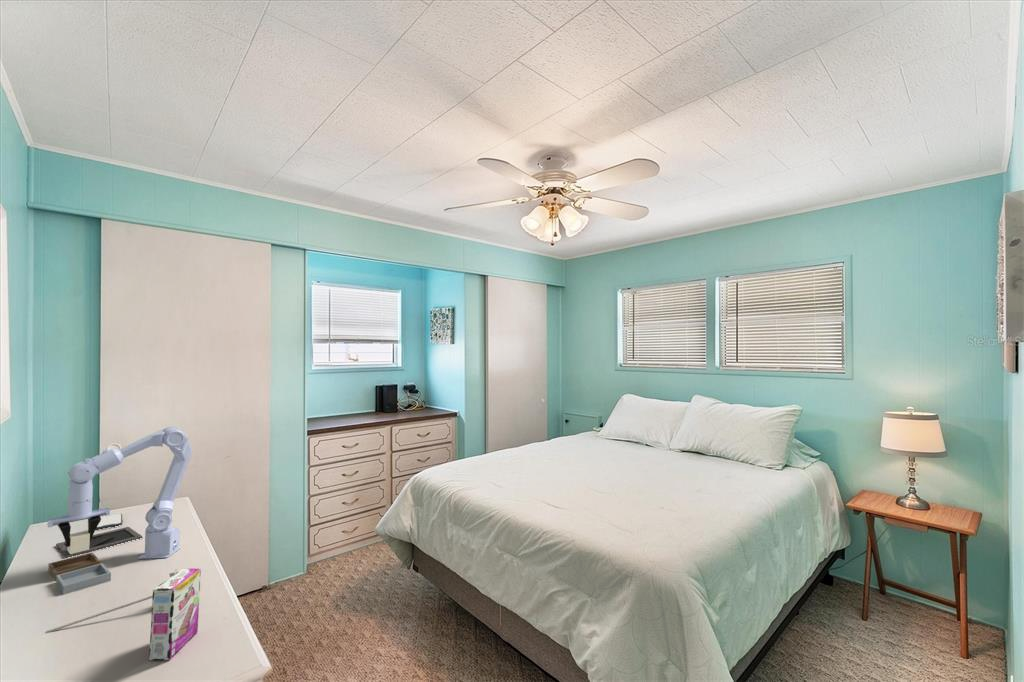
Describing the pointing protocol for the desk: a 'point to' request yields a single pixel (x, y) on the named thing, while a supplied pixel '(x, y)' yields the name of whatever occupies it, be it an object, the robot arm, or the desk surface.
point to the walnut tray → (72, 564)
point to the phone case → (110, 521)
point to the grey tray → (83, 578)
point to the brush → (105, 611)
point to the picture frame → (104, 540)
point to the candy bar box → (174, 614)
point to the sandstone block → (79, 542)
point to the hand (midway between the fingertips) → (78, 543)
